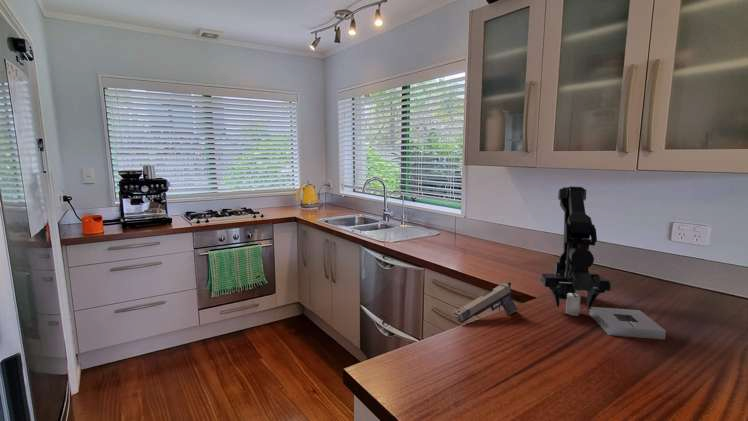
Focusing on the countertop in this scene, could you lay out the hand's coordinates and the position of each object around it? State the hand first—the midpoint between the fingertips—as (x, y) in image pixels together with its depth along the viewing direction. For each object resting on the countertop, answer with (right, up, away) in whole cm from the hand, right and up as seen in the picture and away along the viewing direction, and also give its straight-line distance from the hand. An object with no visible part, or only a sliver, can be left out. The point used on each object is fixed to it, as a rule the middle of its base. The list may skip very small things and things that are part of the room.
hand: (572, 307), depth 119 cm
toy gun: (-28, -3, -3) cm, 28 cm away
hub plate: (+11, -3, -9) cm, 14 cm away
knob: (0, -2, 0) cm, 2 cm away
